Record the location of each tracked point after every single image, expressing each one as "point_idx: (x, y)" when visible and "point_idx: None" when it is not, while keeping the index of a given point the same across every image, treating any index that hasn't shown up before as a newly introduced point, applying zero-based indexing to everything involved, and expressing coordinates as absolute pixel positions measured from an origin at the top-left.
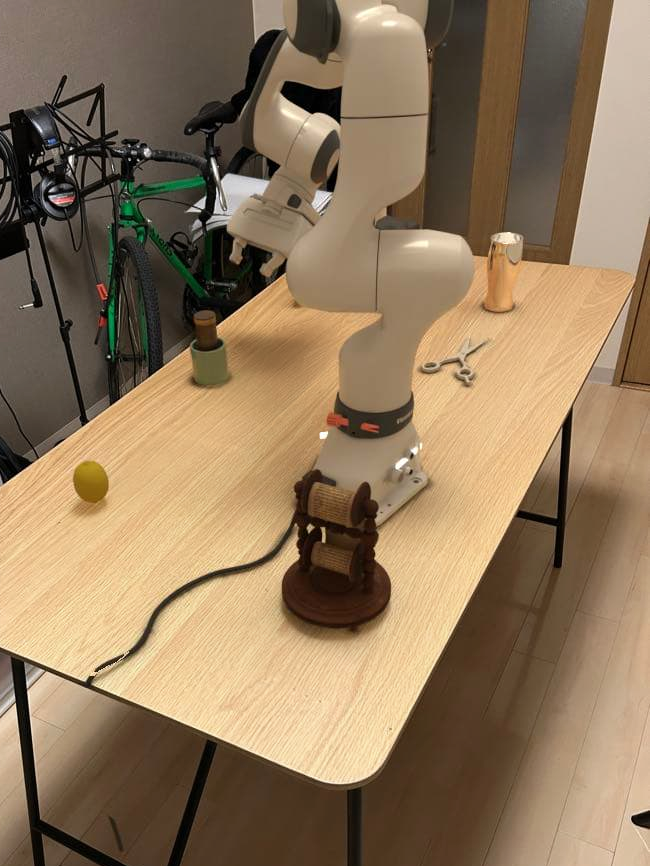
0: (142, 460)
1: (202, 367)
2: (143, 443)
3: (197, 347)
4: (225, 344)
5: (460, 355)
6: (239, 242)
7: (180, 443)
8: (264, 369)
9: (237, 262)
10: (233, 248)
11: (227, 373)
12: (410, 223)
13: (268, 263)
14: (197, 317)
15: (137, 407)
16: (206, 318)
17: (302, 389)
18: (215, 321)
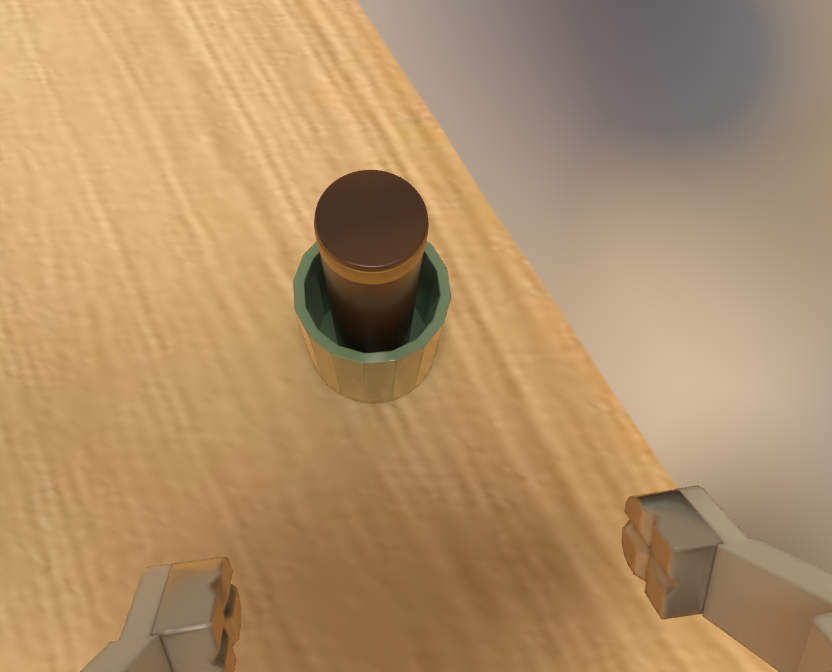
0: (109, 11)
1: None
2: (178, 42)
3: (434, 285)
4: (321, 346)
5: None
6: (812, 643)
7: (102, 105)
8: (307, 538)
9: (627, 540)
10: (776, 555)
11: (321, 374)
12: None
13: (118, 649)
14: (365, 177)
15: (361, 103)
16: (320, 202)
17: (65, 574)
18: (336, 273)
